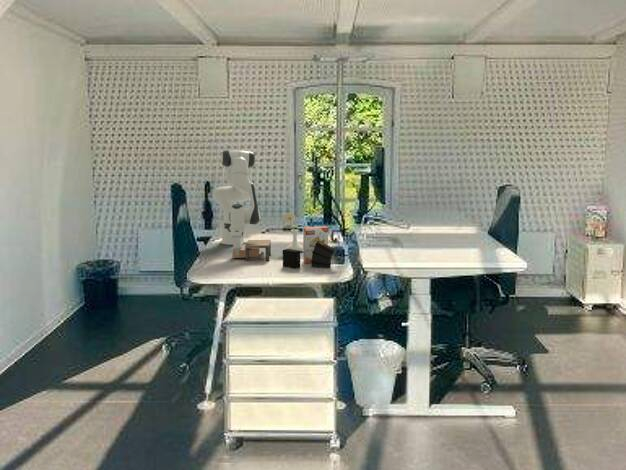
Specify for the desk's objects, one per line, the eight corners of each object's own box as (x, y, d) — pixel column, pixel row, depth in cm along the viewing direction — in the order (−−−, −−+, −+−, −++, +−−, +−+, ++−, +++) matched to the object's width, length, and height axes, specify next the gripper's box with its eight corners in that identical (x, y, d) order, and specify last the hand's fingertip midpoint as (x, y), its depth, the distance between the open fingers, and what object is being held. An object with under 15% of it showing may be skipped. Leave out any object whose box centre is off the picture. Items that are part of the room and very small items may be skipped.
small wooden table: (248, 254, 427) (248, 239, 425) (270, 254, 427) (270, 239, 425) (245, 261, 408) (245, 245, 406) (269, 261, 408) (268, 245, 406)
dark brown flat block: (307, 262, 395) (318, 240, 391) (327, 273, 393) (338, 250, 389) (305, 264, 391) (316, 241, 387) (325, 275, 389) (336, 252, 385)
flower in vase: (305, 249, 441) (304, 211, 436) (303, 253, 430) (302, 214, 425) (284, 249, 442) (284, 211, 438) (282, 253, 431) (281, 213, 427)
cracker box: (305, 263, 400) (305, 228, 396) (303, 261, 405) (302, 227, 402) (328, 262, 403) (328, 227, 400) (325, 260, 409) (325, 225, 405)
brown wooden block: (233, 255, 420) (233, 248, 419) (259, 255, 420) (259, 248, 419) (232, 257, 414) (232, 250, 414) (258, 257, 414) (258, 250, 414)
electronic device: (295, 269, 387) (295, 251, 385) (282, 266, 393) (282, 249, 392) (300, 267, 390) (300, 250, 388) (287, 265, 396) (287, 248, 395)
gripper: (234, 228, 425) (235, 250, 427) (230, 234, 405) (231, 257, 407) (245, 228, 425) (245, 250, 427) (241, 234, 404) (242, 257, 407)
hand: (238, 253), depth 417 cm, fingers closed on brown wooden block, 6 cm apart
